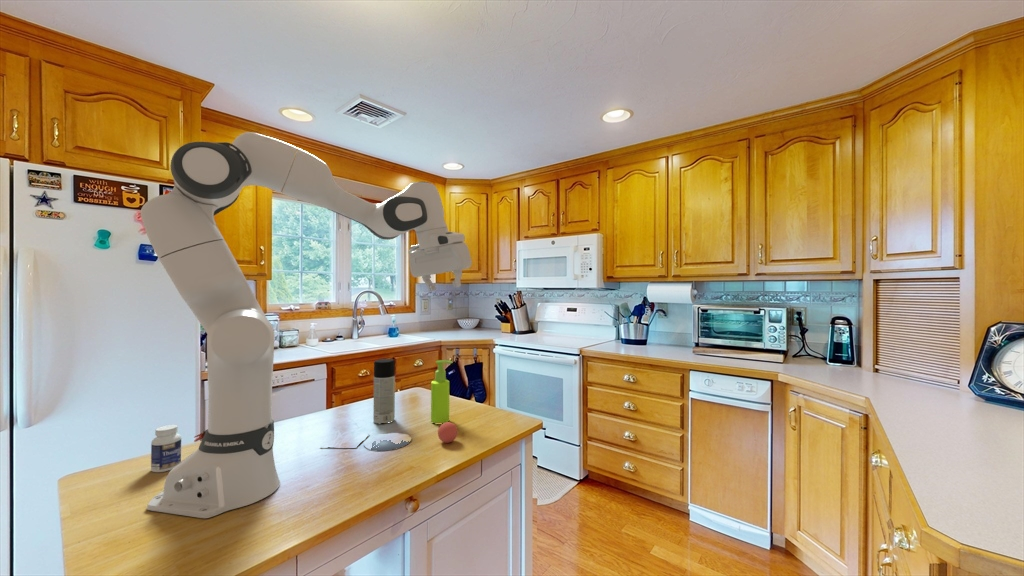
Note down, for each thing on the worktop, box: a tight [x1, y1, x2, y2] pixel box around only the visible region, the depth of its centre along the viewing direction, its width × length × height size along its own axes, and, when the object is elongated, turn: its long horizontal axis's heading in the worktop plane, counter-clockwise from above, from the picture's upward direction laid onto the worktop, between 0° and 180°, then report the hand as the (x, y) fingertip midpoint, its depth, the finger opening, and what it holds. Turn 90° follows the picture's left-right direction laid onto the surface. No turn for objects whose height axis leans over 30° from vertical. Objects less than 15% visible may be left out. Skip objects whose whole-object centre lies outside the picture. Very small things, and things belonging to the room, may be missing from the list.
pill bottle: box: [150, 424, 182, 473], centre depth 92 cm, size 5×5×10 cm
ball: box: [437, 421, 458, 444], centre depth 109 cm, size 6×6×6 cm
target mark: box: [370, 438, 413, 452], centre depth 109 cm, size 13×13×1 cm
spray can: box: [372, 358, 396, 424], centre depth 126 cm, size 7×7×20 cm
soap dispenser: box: [430, 359, 453, 423], centre depth 126 cm, size 6×7×20 cm
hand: (444, 288), depth 109 cm, fingers open, 8 cm apart
